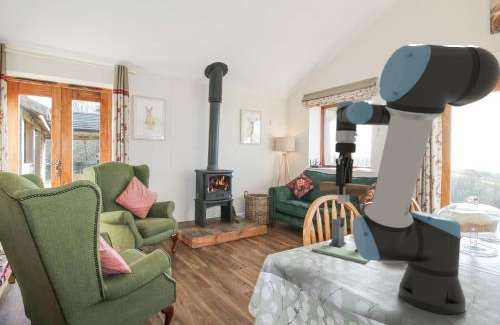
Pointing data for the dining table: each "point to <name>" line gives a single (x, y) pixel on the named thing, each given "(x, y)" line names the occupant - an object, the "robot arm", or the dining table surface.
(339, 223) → the post far
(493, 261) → the dining table surface
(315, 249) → the mat
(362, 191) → the rail
